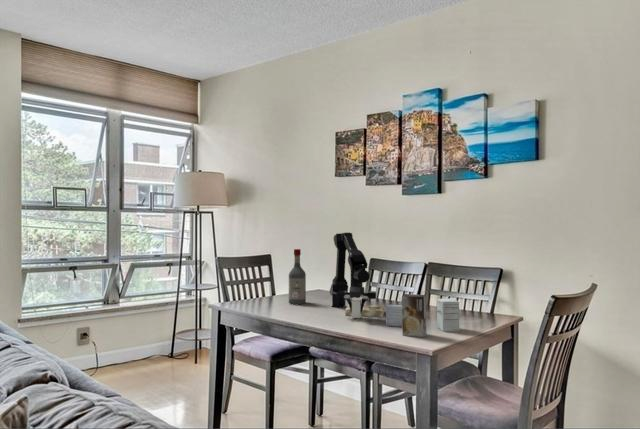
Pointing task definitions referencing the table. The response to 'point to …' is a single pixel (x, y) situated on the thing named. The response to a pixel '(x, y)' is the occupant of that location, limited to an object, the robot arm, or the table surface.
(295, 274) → the liquor
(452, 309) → the supplement box
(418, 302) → the coffee box
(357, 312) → the white squarish block
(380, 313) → the socket block
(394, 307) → the medicine box
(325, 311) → the table surface
